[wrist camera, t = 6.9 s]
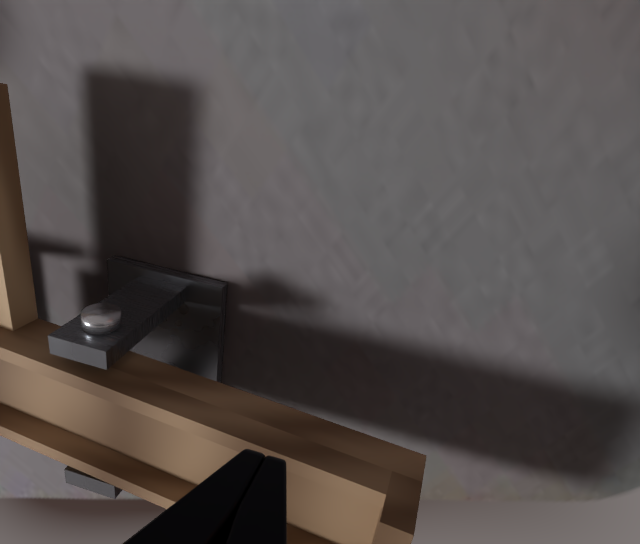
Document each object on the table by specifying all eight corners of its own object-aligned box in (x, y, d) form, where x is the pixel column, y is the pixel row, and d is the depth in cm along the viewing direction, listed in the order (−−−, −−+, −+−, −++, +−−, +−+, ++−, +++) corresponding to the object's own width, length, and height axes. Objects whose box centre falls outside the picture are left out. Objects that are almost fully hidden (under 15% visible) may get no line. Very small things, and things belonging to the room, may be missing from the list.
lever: (513, 187, 12) (522, 217, 9) (396, 549, 18) (379, 635, 15) (-96, 63, 17) (-211, 58, 14) (-29, 375, 23) (-101, 415, 20)
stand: (227, 279, 22) (151, 350, 16) (218, 421, 25) (153, 521, 19) (114, 251, 22) (3, 309, 17) (121, 392, 26) (32, 480, 20)
